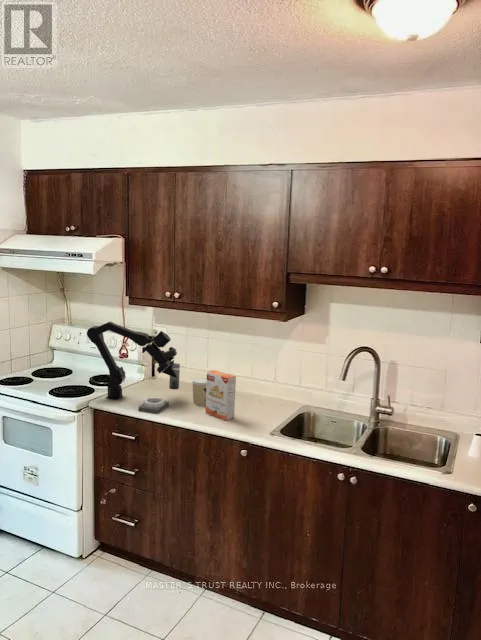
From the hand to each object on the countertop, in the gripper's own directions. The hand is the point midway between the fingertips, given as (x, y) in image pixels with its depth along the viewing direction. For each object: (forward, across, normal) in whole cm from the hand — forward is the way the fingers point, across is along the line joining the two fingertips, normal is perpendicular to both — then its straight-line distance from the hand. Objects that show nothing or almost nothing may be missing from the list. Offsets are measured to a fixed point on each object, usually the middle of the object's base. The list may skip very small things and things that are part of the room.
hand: (177, 375), depth 265 cm
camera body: (+3, -13, +16) cm, 21 cm away
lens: (+4, 0, +6) cm, 7 cm away
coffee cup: (+19, -1, 0) cm, 19 cm away
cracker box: (+26, -19, -7) cm, 33 cm away
